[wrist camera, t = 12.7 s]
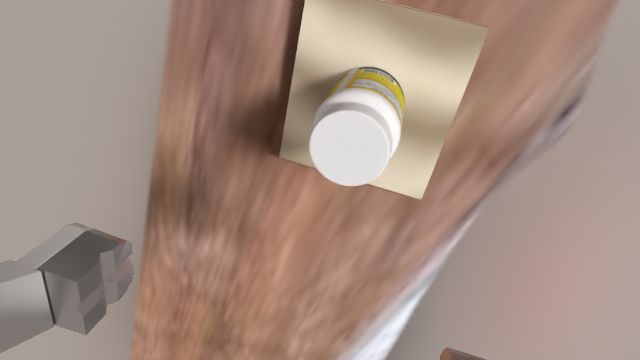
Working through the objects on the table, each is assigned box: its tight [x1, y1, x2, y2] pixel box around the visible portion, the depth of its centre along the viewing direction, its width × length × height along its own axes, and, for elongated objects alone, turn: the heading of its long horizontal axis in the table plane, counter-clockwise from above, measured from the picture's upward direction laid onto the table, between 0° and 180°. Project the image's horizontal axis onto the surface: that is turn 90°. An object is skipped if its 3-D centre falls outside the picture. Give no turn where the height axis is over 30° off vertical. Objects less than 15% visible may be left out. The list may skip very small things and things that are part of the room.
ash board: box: [279, 0, 490, 199], centre depth 26 cm, size 12×11×2 cm
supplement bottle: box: [309, 66, 405, 186], centre depth 22 cm, size 5×5×8 cm
